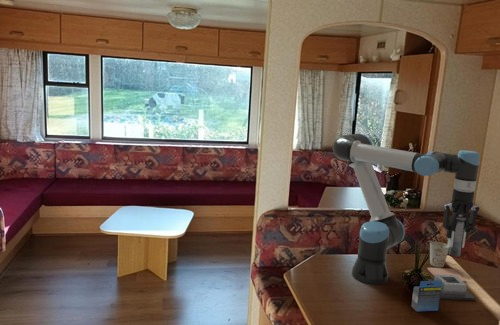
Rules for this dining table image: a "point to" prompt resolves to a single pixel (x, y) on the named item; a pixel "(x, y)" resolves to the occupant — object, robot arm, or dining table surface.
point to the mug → (438, 253)
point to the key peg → (457, 236)
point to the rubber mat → (445, 272)
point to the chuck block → (452, 288)
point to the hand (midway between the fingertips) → (455, 245)
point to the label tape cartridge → (426, 296)
